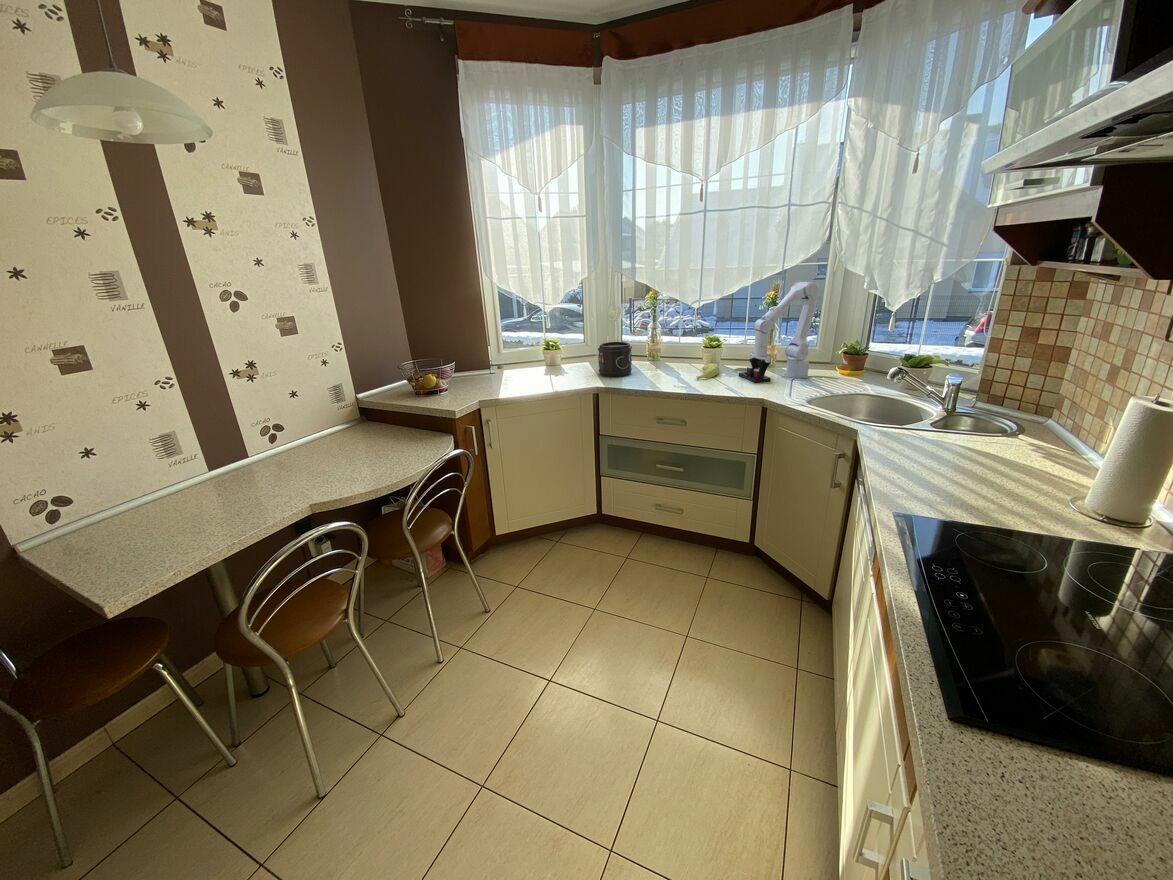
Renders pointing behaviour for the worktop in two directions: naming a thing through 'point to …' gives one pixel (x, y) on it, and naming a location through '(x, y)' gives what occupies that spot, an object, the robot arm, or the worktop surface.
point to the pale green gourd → (709, 371)
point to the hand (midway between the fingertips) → (758, 374)
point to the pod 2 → (757, 374)
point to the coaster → (741, 369)
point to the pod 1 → (749, 370)
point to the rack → (754, 380)
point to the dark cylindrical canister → (615, 359)
